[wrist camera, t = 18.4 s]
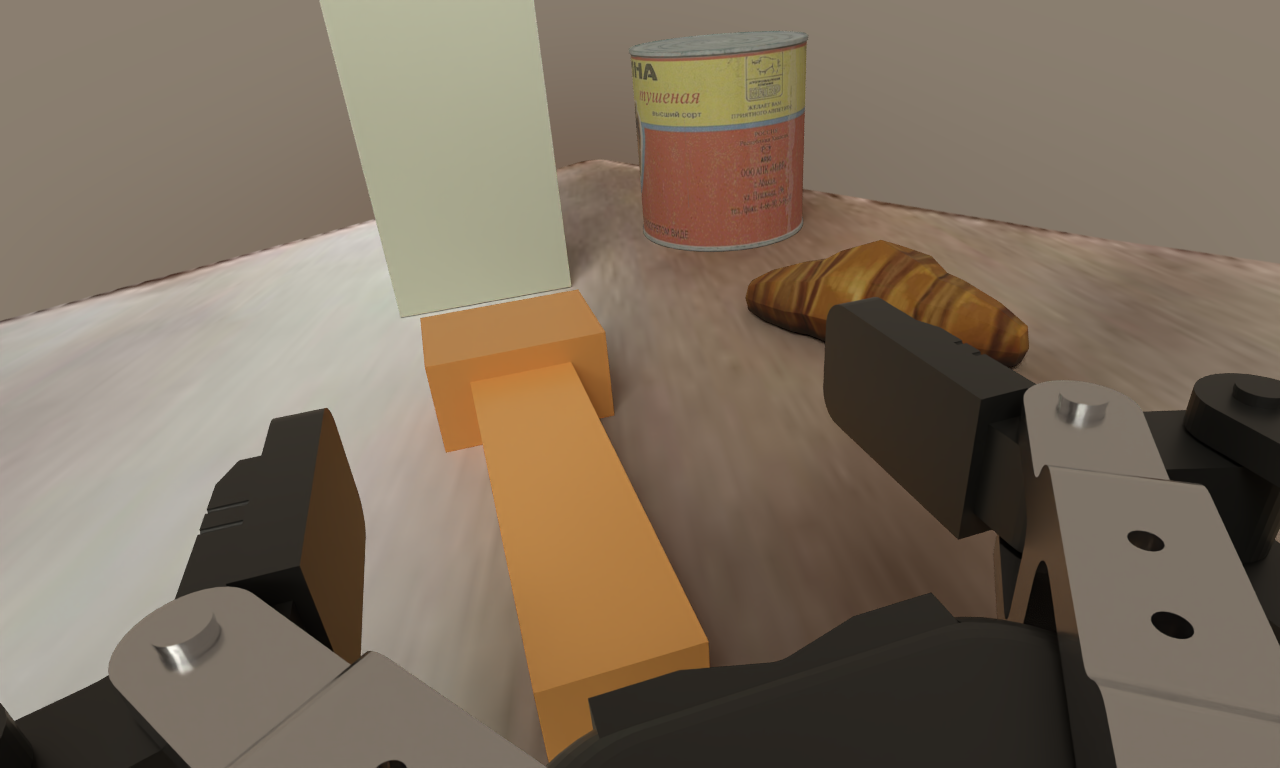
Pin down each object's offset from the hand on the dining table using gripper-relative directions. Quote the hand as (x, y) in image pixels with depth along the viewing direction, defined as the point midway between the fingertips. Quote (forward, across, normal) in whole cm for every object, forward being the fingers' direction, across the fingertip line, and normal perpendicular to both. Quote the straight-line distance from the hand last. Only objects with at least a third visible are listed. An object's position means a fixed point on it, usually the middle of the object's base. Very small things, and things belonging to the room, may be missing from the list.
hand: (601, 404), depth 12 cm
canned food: (+38, -18, +10) cm, 43 cm away
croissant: (+18, -17, +10) cm, 27 cm away
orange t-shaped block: (+11, 0, +10) cm, 15 cm away
